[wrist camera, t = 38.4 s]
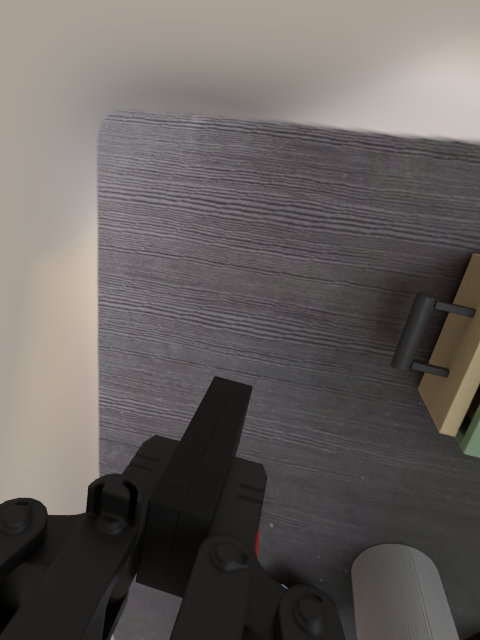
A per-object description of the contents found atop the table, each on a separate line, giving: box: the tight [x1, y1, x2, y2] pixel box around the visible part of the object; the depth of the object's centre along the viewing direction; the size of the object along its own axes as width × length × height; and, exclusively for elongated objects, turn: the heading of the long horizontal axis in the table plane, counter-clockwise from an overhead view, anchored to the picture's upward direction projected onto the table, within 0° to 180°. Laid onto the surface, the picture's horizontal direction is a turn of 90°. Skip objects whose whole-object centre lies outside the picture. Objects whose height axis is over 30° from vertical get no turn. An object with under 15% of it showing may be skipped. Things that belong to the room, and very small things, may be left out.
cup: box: [351, 543, 459, 640], centre depth 39 cm, size 9×9×12 cm
